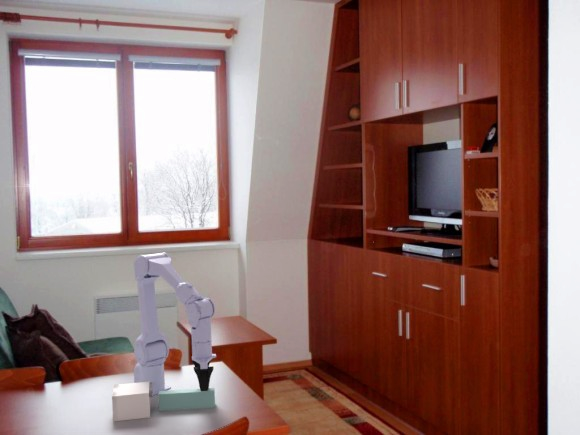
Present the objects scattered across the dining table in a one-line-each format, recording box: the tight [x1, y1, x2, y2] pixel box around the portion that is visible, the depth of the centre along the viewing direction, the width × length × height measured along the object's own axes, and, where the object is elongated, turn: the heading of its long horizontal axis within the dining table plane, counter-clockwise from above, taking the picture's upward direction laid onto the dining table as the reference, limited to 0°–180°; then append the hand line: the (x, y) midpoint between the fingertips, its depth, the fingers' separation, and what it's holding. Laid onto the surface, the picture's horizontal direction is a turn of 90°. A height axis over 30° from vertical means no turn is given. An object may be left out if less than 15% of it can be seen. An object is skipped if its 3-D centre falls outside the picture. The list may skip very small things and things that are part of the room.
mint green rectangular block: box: [157, 387, 216, 411], centre depth 185 cm, size 16×3×5 cm, turn 94°
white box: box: [111, 381, 153, 422], centre depth 182 cm, size 11×11×7 cm
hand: (203, 386), depth 186 cm, fingers open, 7 cm apart
